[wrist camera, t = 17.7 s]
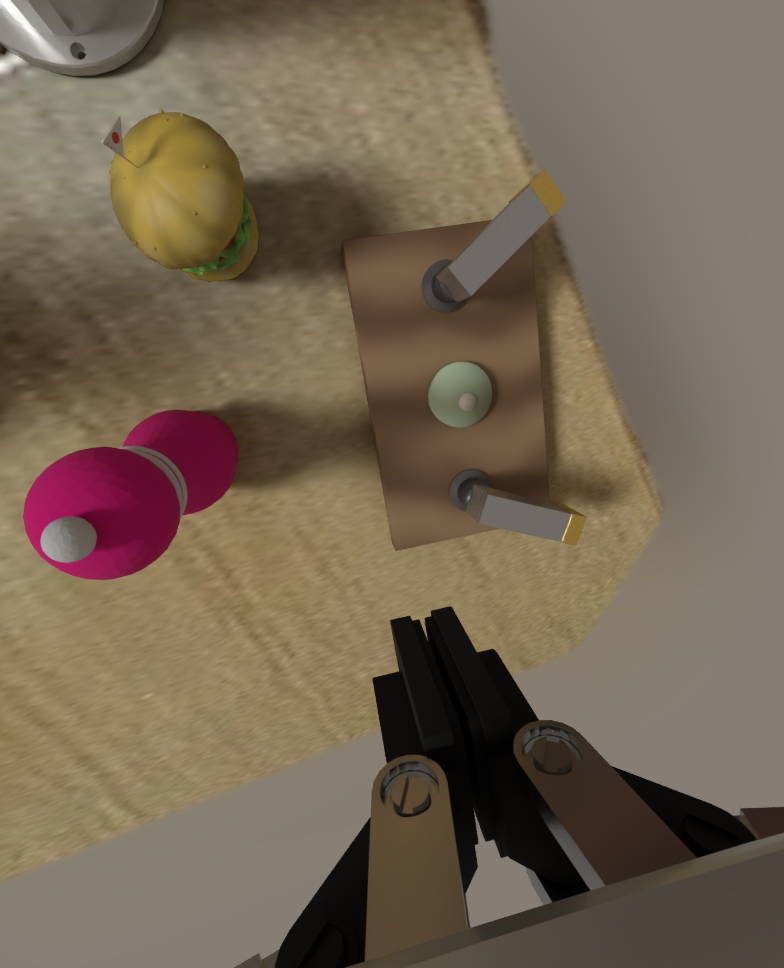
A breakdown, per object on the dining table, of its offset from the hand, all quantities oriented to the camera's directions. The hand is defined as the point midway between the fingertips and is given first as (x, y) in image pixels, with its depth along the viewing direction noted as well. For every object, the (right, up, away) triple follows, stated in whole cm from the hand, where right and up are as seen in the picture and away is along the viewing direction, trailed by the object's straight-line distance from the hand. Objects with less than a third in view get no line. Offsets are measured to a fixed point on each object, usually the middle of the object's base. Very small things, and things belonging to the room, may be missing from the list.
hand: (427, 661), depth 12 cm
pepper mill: (-16, +7, +24) cm, 30 cm away
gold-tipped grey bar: (+5, +21, +21) cm, 30 cm away
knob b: (+8, +3, +26) cm, 28 cm away
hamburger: (-14, +22, +21) cm, 33 cm away
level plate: (+4, +12, +26) cm, 29 cm away
